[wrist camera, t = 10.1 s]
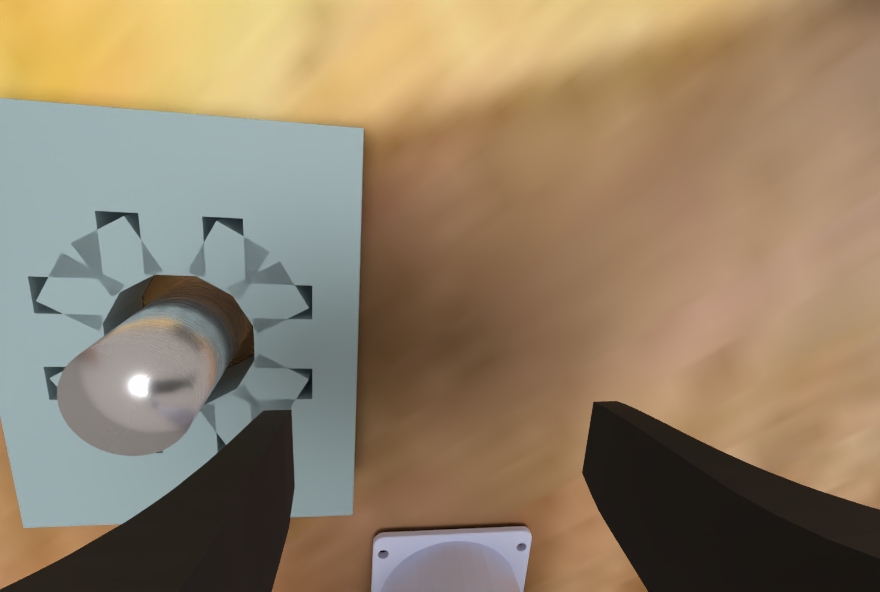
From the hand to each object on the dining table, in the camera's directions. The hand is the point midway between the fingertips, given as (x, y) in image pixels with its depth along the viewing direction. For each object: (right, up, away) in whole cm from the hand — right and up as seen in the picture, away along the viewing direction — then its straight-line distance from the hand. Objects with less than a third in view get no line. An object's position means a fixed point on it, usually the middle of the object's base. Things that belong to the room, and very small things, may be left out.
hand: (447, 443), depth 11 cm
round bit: (-9, +3, +8) cm, 13 cm away
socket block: (-9, +3, +8) cm, 13 cm away
